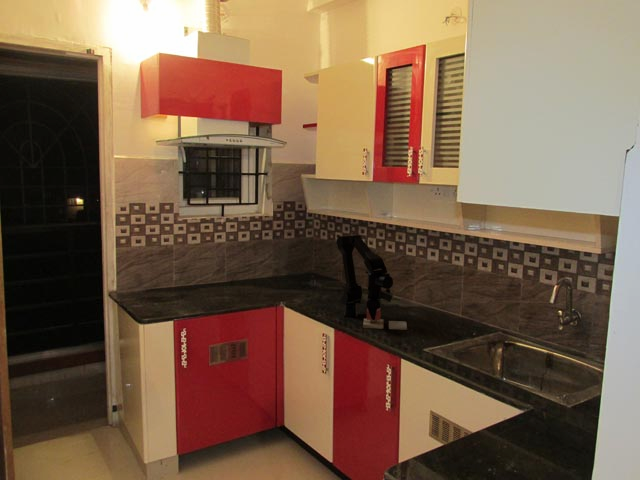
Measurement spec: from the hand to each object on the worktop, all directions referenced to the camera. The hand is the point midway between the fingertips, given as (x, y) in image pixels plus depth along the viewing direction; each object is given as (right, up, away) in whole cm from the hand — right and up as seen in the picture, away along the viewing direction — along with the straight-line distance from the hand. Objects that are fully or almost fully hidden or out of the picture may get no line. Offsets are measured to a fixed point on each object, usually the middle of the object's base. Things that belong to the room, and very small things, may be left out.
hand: (373, 318), depth 248 cm
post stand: (0, -3, 0) cm, 3 cm away
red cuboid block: (0, 0, 0) cm, 0 cm away
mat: (+11, -4, -1) cm, 11 cm away
